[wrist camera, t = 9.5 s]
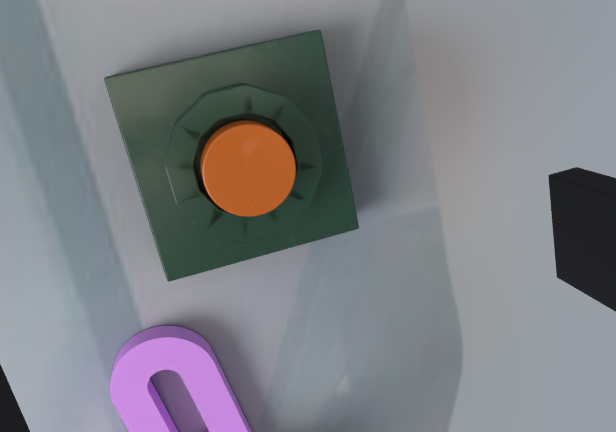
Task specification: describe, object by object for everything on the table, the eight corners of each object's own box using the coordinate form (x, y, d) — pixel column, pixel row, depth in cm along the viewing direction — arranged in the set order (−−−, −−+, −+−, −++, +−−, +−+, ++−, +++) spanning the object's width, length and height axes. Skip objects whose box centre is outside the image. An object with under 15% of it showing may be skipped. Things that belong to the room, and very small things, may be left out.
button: (297, 194, 27) (304, 203, 25) (213, 217, 26) (215, 227, 25) (278, 110, 26) (285, 114, 24) (190, 132, 25) (191, 136, 23)
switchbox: (347, 217, 32) (370, 239, 28) (168, 267, 30) (166, 296, 26) (310, 31, 29) (330, 26, 25) (108, 76, 27) (97, 78, 23)
